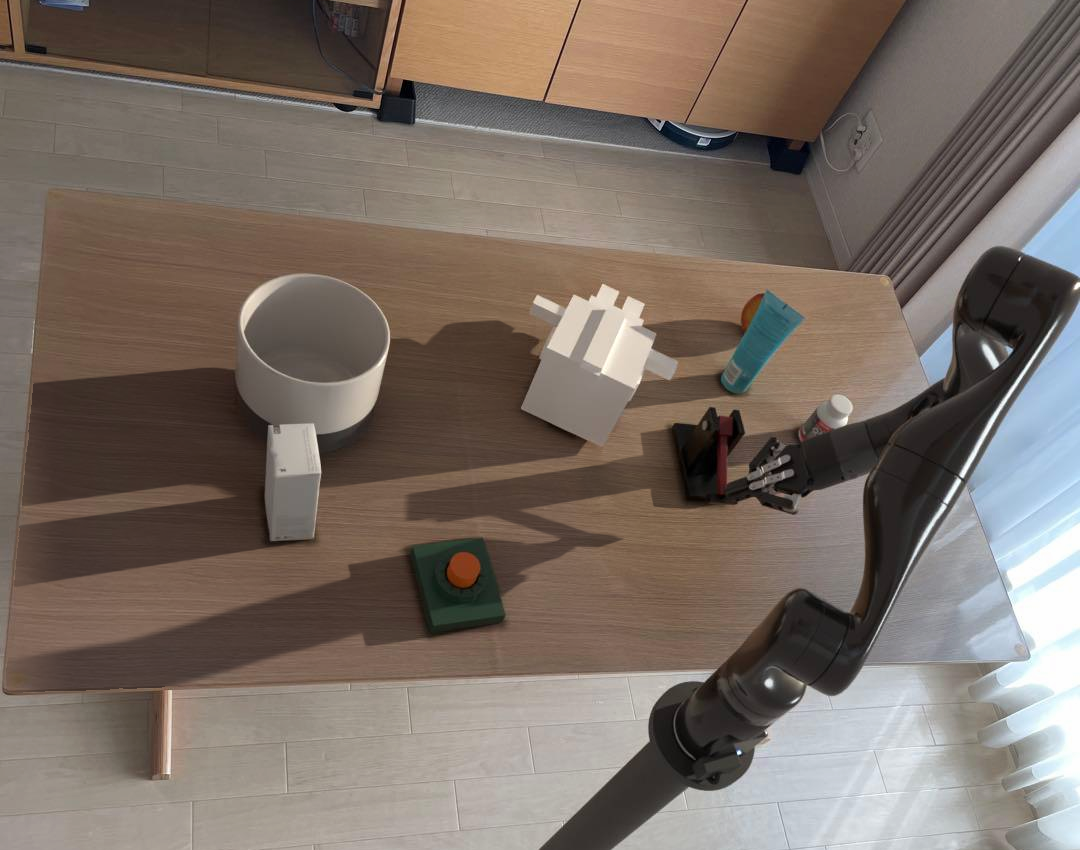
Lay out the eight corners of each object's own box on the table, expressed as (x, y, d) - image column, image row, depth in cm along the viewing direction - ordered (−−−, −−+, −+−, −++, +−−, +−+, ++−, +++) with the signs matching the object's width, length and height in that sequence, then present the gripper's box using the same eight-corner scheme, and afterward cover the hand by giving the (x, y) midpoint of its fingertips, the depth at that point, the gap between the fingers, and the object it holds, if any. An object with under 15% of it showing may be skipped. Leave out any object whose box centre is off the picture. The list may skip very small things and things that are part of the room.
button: (479, 586, 132) (483, 576, 130) (450, 590, 130) (454, 580, 128) (471, 560, 133) (476, 550, 131) (443, 563, 132) (447, 553, 130)
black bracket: (721, 503, 156) (755, 459, 147) (686, 500, 154) (718, 456, 145) (704, 431, 163) (736, 385, 154) (671, 428, 162) (700, 381, 152)
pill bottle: (799, 448, 167) (828, 412, 159) (795, 423, 170) (824, 387, 163) (828, 455, 168) (859, 419, 161) (824, 430, 171) (854, 394, 164)
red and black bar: (731, 505, 151) (739, 503, 149) (704, 503, 150) (712, 501, 147) (732, 421, 153) (739, 417, 151) (705, 418, 152) (712, 414, 149)
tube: (756, 387, 173) (811, 309, 157) (745, 402, 170) (800, 325, 154) (720, 363, 173) (771, 283, 158) (709, 378, 171) (759, 298, 155)
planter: (355, 356, 152) (372, 271, 138) (385, 459, 143) (405, 380, 129) (223, 363, 144) (226, 274, 130) (245, 473, 135) (251, 390, 121)
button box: (502, 622, 134) (509, 608, 131) (429, 633, 130) (435, 619, 127) (479, 545, 139) (486, 530, 136) (409, 553, 136) (414, 538, 132)
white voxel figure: (671, 362, 173) (632, 469, 154) (540, 300, 172) (485, 400, 154) (707, 297, 162) (670, 404, 143) (567, 231, 161) (512, 330, 143)
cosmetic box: (313, 540, 133) (325, 476, 121) (266, 542, 130) (273, 478, 119) (306, 487, 137) (317, 421, 125) (261, 489, 135) (267, 422, 123)
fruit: (781, 336, 182) (802, 305, 175) (758, 356, 177) (779, 325, 171) (748, 309, 183) (767, 278, 177) (724, 328, 179) (744, 296, 172)
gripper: (823, 404, 142) (709, 446, 149) (846, 481, 135) (725, 521, 142) (837, 430, 148) (726, 470, 154) (859, 505, 141) (743, 543, 147)
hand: (726, 494), depth 148 cm, fingers closed
